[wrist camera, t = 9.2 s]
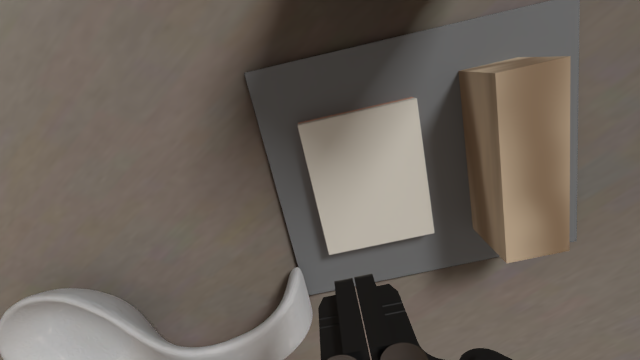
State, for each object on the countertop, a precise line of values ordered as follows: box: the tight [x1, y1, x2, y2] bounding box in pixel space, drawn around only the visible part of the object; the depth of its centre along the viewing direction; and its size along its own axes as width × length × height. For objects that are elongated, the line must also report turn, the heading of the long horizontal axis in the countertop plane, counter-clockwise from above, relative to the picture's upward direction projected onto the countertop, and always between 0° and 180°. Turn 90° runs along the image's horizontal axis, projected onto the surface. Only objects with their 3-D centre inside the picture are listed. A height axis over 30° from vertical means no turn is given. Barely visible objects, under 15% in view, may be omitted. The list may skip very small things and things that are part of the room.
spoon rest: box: [0, 267, 313, 360], centre depth 26 cm, size 24×12×7 cm, turn 103°
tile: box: [298, 97, 435, 255], centre depth 25 cm, size 4×10×8 cm
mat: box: [244, 0, 580, 295], centre depth 26 cm, size 22×18×1 cm
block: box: [458, 56, 571, 263], centre depth 23 cm, size 4×12×5 cm, turn 13°
